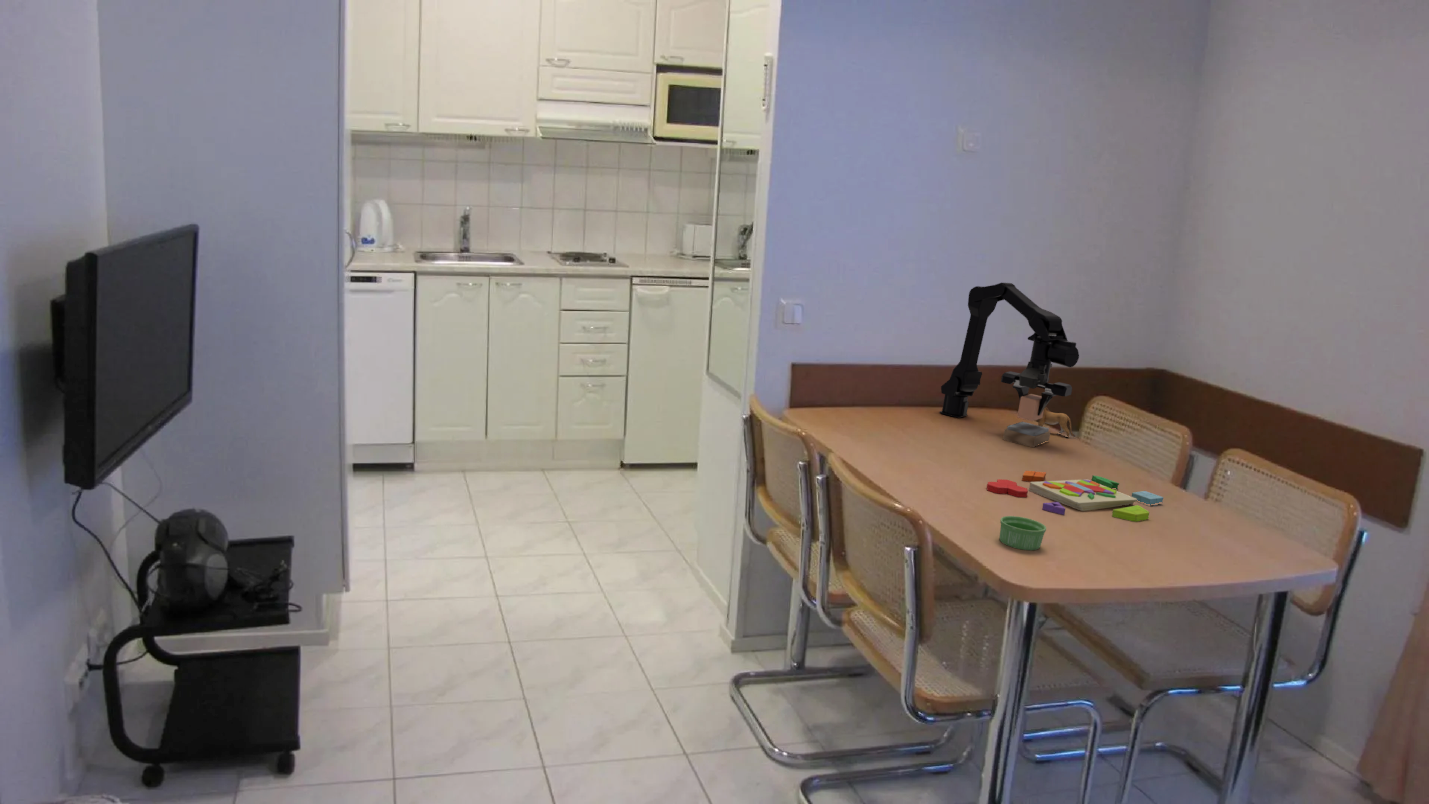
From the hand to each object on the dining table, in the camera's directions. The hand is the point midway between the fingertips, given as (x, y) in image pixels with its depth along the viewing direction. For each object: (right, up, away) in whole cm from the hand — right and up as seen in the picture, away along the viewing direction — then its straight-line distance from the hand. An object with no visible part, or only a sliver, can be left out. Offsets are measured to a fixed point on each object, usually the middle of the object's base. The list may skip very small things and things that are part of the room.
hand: (1030, 413), depth 325 cm
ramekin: (-28, -25, -93) cm, 101 cm away
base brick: (-1, -8, +2) cm, 8 cm away
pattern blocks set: (-3, -20, -52) cm, 56 cm away
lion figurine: (+9, -6, +15) cm, 19 cm away
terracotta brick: (0, -1, 0) cm, 1 cm away
